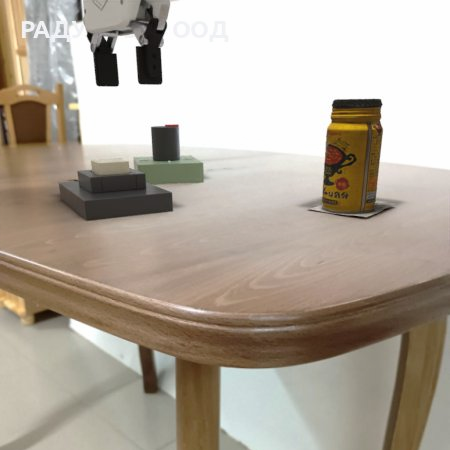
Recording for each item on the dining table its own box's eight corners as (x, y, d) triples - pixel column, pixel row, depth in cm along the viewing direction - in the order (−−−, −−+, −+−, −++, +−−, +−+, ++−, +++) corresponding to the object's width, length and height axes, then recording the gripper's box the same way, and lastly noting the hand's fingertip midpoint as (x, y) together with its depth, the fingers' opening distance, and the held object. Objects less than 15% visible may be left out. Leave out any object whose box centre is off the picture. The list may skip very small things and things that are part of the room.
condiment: (306, 210, 57) (313, 98, 52) (340, 199, 63) (348, 98, 58) (366, 219, 52) (379, 98, 48) (395, 206, 58) (409, 98, 54)
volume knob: (154, 161, 76) (152, 125, 74) (151, 158, 80) (149, 124, 78) (182, 160, 77) (180, 125, 75) (178, 157, 81) (176, 123, 79)
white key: (92, 174, 59) (90, 159, 59) (121, 172, 61) (119, 158, 60) (100, 178, 56) (98, 163, 56) (130, 176, 58) (128, 161, 57)
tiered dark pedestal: (60, 199, 64) (56, 168, 62) (134, 192, 68) (132, 163, 66) (86, 221, 52) (82, 183, 51) (173, 211, 56) (171, 176, 55)
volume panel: (134, 175, 84) (133, 156, 83) (191, 173, 86) (191, 154, 85) (139, 185, 74) (137, 163, 73) (203, 182, 76) (203, 161, 75)
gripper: (50, -69, 59) (68, 86, 65) (129, -112, 47) (142, 83, 53) (105, -57, 63) (117, 87, 70) (189, -93, 52) (194, 84, 58)
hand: (128, 85), depth 62 cm, fingers open, 9 cm apart
